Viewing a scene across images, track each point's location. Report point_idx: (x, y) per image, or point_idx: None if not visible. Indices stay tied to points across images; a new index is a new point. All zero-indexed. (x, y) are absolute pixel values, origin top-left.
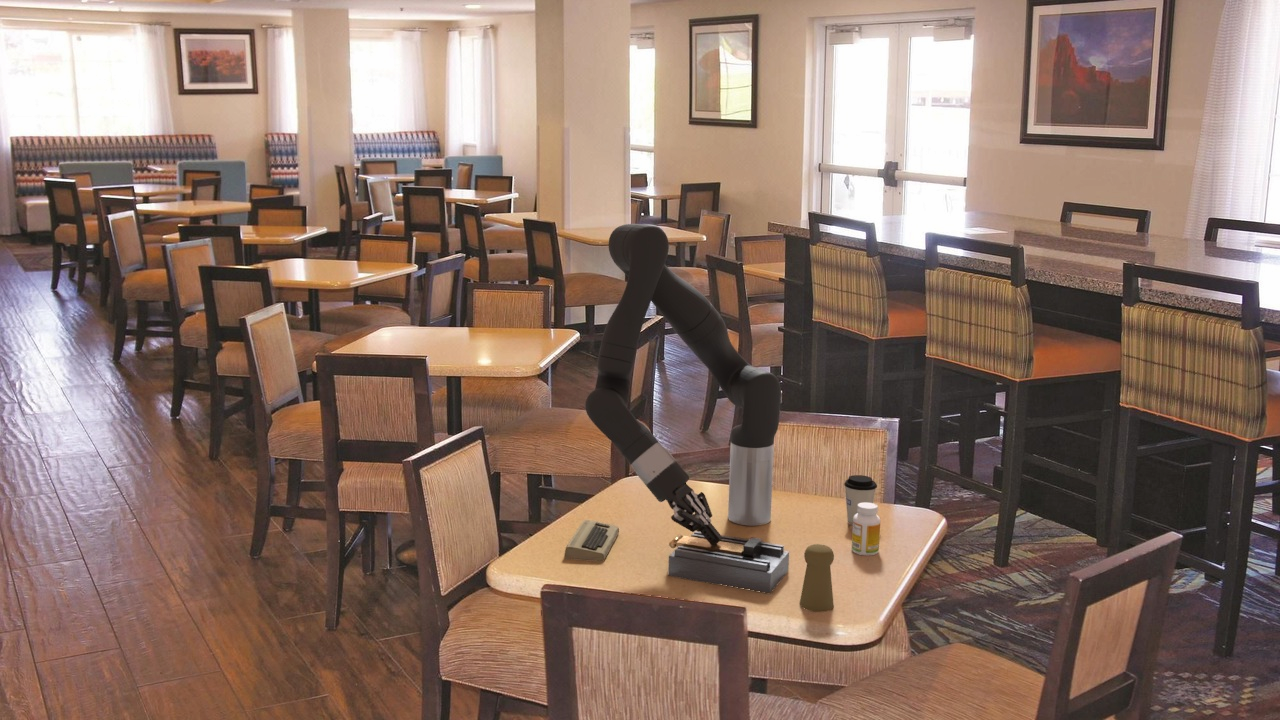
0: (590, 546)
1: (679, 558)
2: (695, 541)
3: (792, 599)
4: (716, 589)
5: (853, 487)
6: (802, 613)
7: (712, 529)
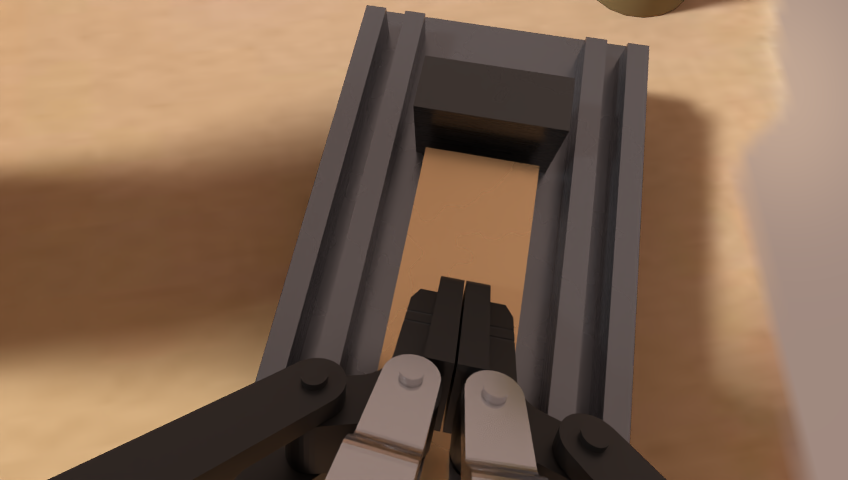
0: None
1: None
2: (432, 464)
3: (622, 38)
4: (642, 298)
5: None
6: (720, 4)
7: (479, 333)
